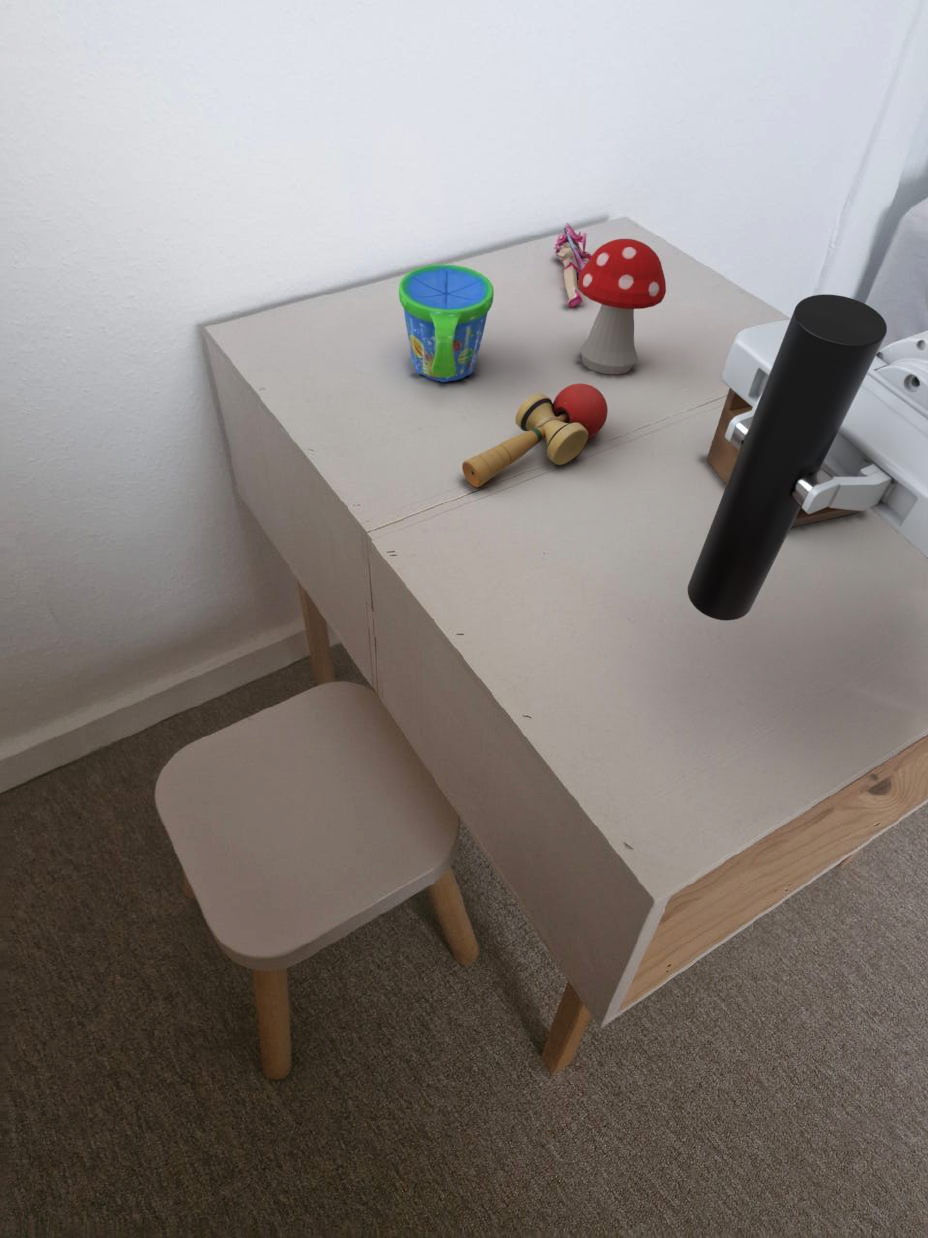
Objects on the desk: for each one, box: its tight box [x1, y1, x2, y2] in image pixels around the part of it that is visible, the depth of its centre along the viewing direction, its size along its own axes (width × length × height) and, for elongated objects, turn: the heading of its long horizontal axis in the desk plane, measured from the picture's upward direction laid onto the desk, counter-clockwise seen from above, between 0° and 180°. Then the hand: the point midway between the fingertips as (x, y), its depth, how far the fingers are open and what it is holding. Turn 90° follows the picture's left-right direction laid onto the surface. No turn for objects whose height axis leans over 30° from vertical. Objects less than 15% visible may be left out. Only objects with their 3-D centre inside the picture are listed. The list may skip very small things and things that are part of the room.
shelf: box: [706, 387, 859, 528], centre depth 85 cm, size 12×11×12 cm
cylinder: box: [687, 294, 888, 622], centre depth 51 cm, size 5×5×22 cm
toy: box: [553, 222, 593, 308], centre depth 115 cm, size 7×6×15 cm
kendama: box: [461, 382, 609, 488], centre depth 89 cm, size 8×6×18 cm
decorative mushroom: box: [577, 238, 667, 376], centre depth 98 cm, size 10×9×15 cm
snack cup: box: [398, 264, 495, 383], centre depth 97 cm, size 16×10×10 cm
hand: (767, 466), depth 50 cm, fingers closed on cylinder, 4 cm apart
